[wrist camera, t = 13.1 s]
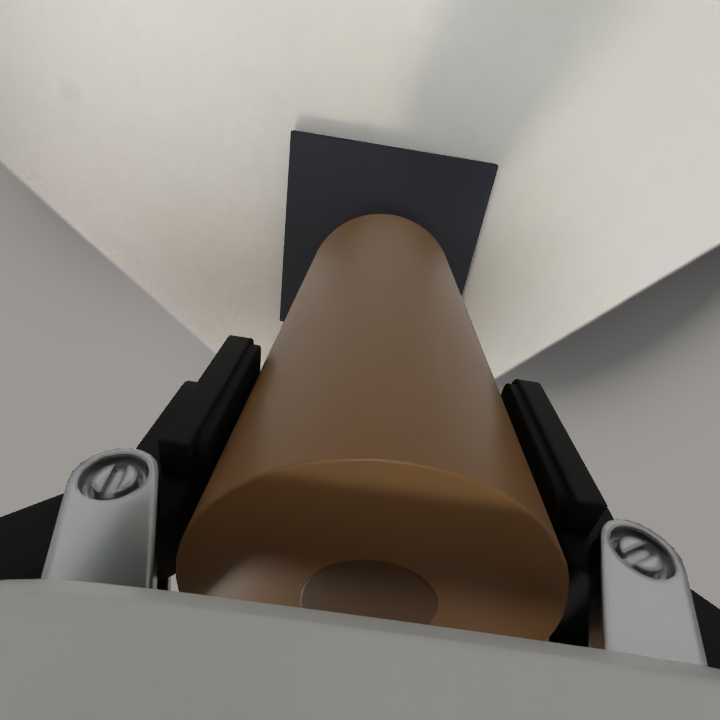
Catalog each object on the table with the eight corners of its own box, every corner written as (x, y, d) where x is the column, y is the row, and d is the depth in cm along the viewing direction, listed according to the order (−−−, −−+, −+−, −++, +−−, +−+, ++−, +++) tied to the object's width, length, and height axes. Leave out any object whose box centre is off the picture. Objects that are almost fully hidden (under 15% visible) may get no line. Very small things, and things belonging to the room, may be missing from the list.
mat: (281, 317, 26) (279, 321, 26) (293, 130, 21) (290, 130, 21) (446, 342, 27) (447, 347, 26) (495, 163, 21) (498, 165, 21)
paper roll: (304, 336, 20) (185, 675, 8) (317, 202, 17) (157, 425, 5) (432, 355, 21) (499, 717, 8) (466, 226, 18) (647, 498, 5)
